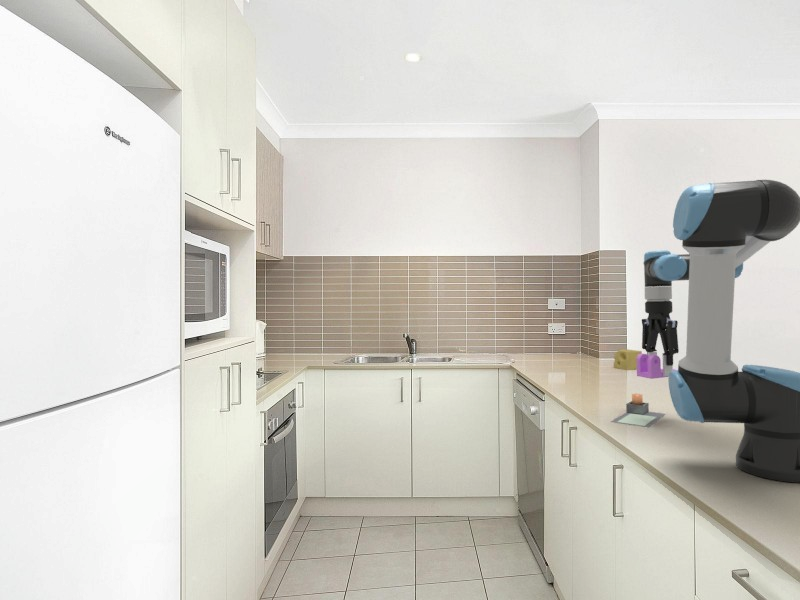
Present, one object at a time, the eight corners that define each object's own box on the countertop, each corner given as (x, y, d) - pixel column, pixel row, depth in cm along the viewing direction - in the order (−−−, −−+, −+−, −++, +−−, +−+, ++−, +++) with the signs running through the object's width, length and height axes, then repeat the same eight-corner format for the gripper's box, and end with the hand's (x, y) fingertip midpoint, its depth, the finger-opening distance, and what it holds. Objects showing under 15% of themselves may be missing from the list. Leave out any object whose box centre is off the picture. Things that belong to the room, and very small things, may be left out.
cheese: (613, 368, 268) (613, 350, 268) (629, 366, 271) (628, 348, 271) (627, 370, 258) (627, 351, 258) (643, 369, 261) (643, 350, 261)
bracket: (651, 378, 146) (651, 355, 146) (636, 375, 152) (636, 353, 151) (683, 375, 151) (683, 352, 150) (668, 372, 156) (667, 350, 156)
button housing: (644, 414, 160) (643, 405, 160) (626, 412, 164) (626, 403, 164) (648, 411, 164) (648, 403, 164) (631, 409, 168) (631, 401, 168)
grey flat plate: (648, 428, 145) (648, 426, 145) (610, 423, 153) (610, 421, 153) (666, 415, 161) (666, 413, 161) (631, 410, 168) (630, 409, 168)
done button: (641, 407, 162) (640, 395, 162) (631, 406, 164) (630, 394, 164) (643, 406, 164) (643, 394, 164) (633, 404, 166) (633, 393, 166)
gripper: (692, 300, 142) (693, 378, 142) (649, 299, 161) (650, 368, 161) (668, 301, 141) (670, 380, 141) (628, 300, 160) (630, 370, 160)
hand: (660, 374), depth 151 cm, fingers closed on bracket, 6 cm apart
